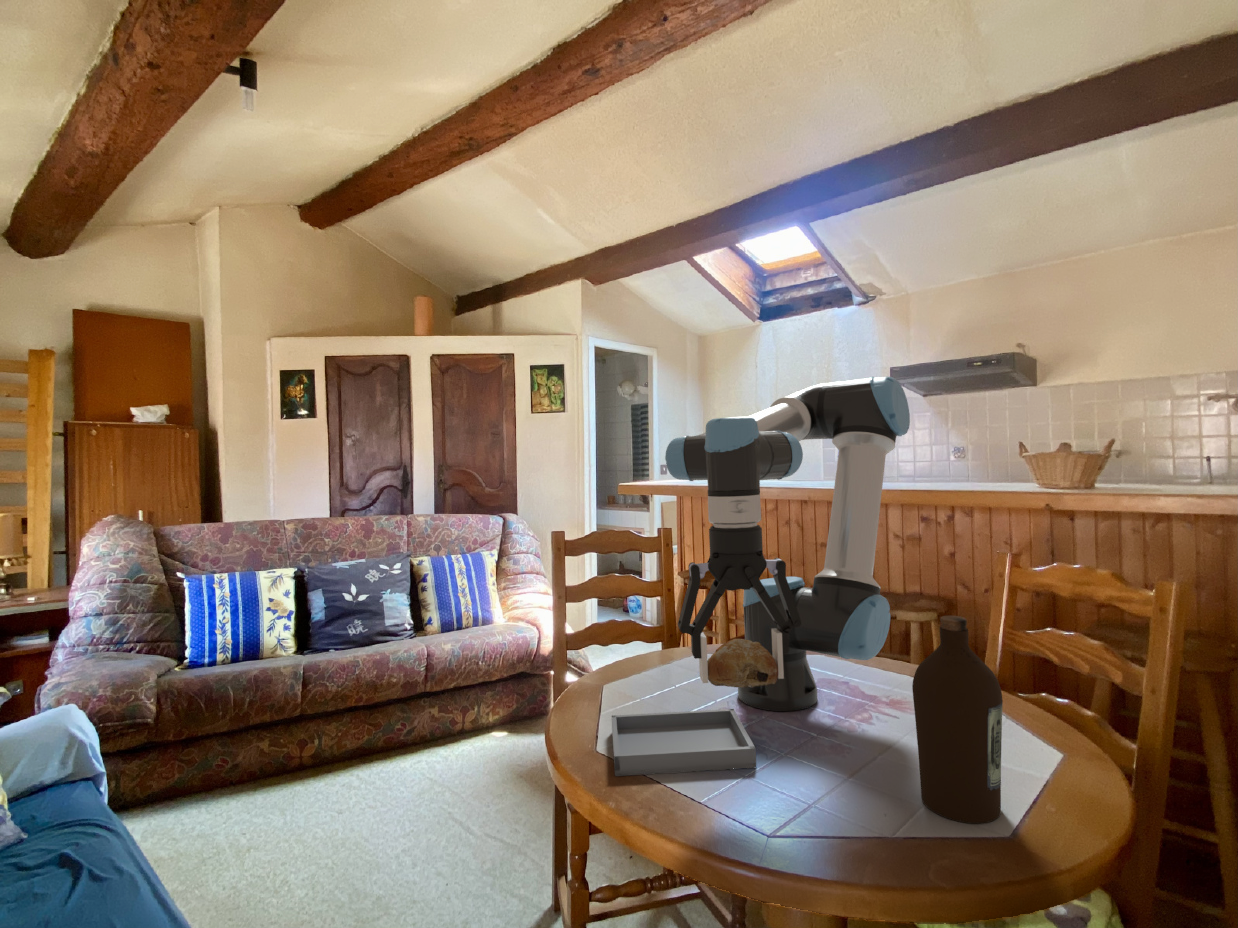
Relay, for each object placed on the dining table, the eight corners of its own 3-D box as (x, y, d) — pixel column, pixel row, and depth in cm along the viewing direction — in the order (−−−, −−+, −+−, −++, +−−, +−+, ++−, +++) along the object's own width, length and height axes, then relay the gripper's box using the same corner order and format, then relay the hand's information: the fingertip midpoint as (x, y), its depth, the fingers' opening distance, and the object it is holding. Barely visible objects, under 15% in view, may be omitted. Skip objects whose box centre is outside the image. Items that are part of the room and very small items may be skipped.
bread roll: (728, 716, 87) (741, 662, 85) (687, 676, 96) (698, 626, 94) (784, 708, 92) (796, 657, 90) (740, 670, 100) (751, 623, 99)
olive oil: (910, 813, 84) (903, 623, 84) (922, 777, 93) (916, 606, 93) (1004, 836, 79) (997, 632, 78) (1007, 796, 88) (1001, 613, 87)
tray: (734, 725, 114) (733, 708, 114) (756, 768, 98) (755, 748, 98) (612, 732, 113) (611, 715, 113) (615, 776, 97) (614, 756, 97)
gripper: (659, 531, 89) (666, 691, 89) (821, 523, 90) (828, 682, 90) (654, 525, 96) (660, 673, 96) (804, 518, 97) (809, 664, 97)
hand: (741, 677), depth 93 cm, fingers closed on bread roll, 10 cm apart
